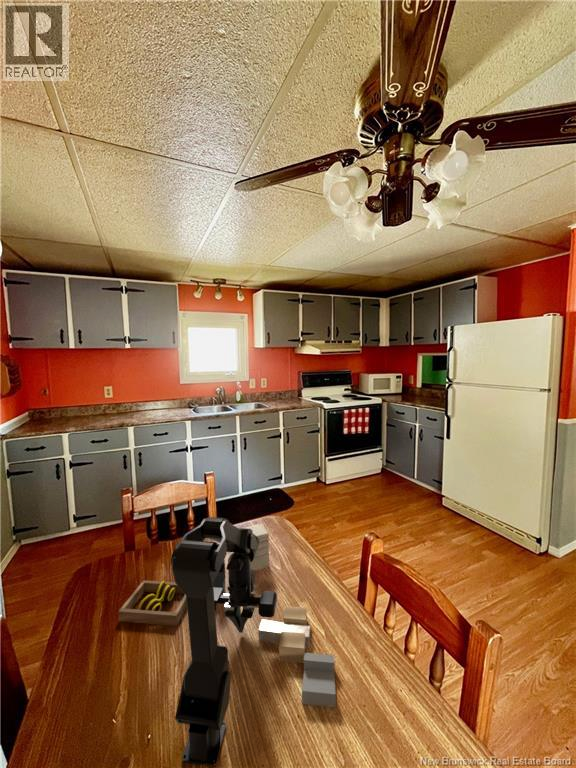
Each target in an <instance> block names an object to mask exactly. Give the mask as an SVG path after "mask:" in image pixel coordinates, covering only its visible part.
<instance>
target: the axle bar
mask: <svg viewBox="0 0 576 768" xmlns="http://www.w3.org/2000/svg"><path fill="white" fill-rule="evenodd" d="M281 631H283V632H295V633H305V649H307V648H310V640H311V626H310V625H307V626H306V625H298V624H291V623H283V621H282V622H281V621H274V620H268V619H261V621H260V624H259V627H258V641H262V642H267V643H272V644H280V638H281Z"/></svg>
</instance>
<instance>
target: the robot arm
mask: <svg viewBox="0 0 576 768" xmlns="http://www.w3.org/2000/svg"><path fill="white" fill-rule="evenodd" d="M205 539H209V540H212V541H205ZM258 547H259V540H258V538H257V536H256V535H254V534H253V530H251V529H247V528H245V527H238V526H236V525H234V524H233V523H231V522H230V521H229V519H226V518H223V517H212V516H211V517H208V516H207V518H203V519H202V521H201V523H200V524H199V525H198V526H196V527H194V528H193V529H191V530H190V531H188V532H187V533H185V534H184V535H183V536H182V538H181V540H180V541H179V542H178V544H177V545H176V547H174V549H173V551H172V555H171V559H170V565H171V570H172V574H173V578H174V582H175V583H176V584H177V585H178V586H179V588H180V589H181V590H182V591H183V592H184V593H185V594H186V602H187V608H186V611H187V623H188V633H189V643H190V656H191V660H190V661H189V665H188V667H187V669H186V671H185V673H184V675H183V676H182V677H183V678H182V683H181V689H180V694H179V695H180V696H179V699H178V703H177V708H176V711H175V716H174V720H175V722H176V724H179V725H180V724H184V725H187V727H188V739H187V741H186V744H185V747H184V750H183V753H182V755H181V760H182V763H187V764H194V765H201V764H207V765H206V766H208V765H214V764H216V765H217V763H218V760H217V759H219V755H220V751H221V747H222V743H223V740H224V736H225V731H226V728H227V722H226V721H225V718H226V713H227V710H228V706H229V704H230V694H231V693H230V691H231V690H230V689H231V676H232V675H231V671H230V667H229V665H230V661H229V650H228V647H227V646H225V645H218V633H217V620H216V619H217V618H216V612H217V611H218V604H221V605H222V604H223V605H224V609H225V611H224V617H227V618H228V619H229V621H231V622H232V624H233V625H234V627H235V628H236V629H237V631H238V633H241V634H242V633H243V632H244V628H245V626H246V625H245V624H246V623H247V621H248V619H252V618H253V616H254V611H255V609H256V608H257V609H258V615H259V616H260V617H262V618H273V617H275V615H276V614H275V613H276V609H277V602H278V595H277V594H278V593H276V591H275V590H261V595H260V597H259V596H256V593H253V592H254V589H255V585H254V584H255V583H256V571H255V570H252V569H250V562H252V561H253V559H254V557H255V554H256V552H257V549H258ZM227 553H231V554H230V555H229V557H227V558H228V559H227V564H226V567H225V570H227V571H228V572H227V574H228V578H227V579H228V585H227V591H228V593H225V594H223V593H224V588H215V587H213V583H214V581H215V579H216V576H217V574H218V572H219V570H220V568H221V565H222V563H223V561H224V560H225V559H226V556H227V555H228V554H227ZM185 594H184V595H185ZM241 607H242V610H241ZM213 760H215V761H213ZM216 762H217V763H216Z"/></svg>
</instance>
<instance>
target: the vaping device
mask: <svg viewBox="0 0 576 768" xmlns="http://www.w3.org/2000/svg"><path fill="white" fill-rule="evenodd" d="M225 563H226V560H225V559H224V561H223V563H222V565H221V568H220V570H219V572H218V574H217V576H216V579H215V581H214V583H213V587H215V588H224V593H223V594H227V593H226V564H225Z"/></svg>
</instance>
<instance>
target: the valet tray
mask: <svg viewBox="0 0 576 768" xmlns="http://www.w3.org/2000/svg"><path fill="white" fill-rule="evenodd" d="M162 581H163V580H161V581H159V580H145V579H144V580H142V581H141V583H140V584H139V585H138V586H137V588H136V589H135V590H134V591H133V592H132V594H131V595H130V597H129V598H128V599H127V600H126V601H125V603H123V605H122V606H121V608H119V610H118V621H119V622H126V623H127V622H128V623H138V624H149V625H150V624H151V625H164V626H173V627H177V626H178V624H179V623H180V621H181V620H182V617H183V615H184V614H185V612H186V611H187V602H186V594H185V593H184V592H183V591H182V590H181V589H180V588H179V586H178V585H177V584H176V583H175V581H164V582H165V584H167V585H170V586H171V587H172V588H175V593H174V595H184V596H183V597H182V599H181V600H180V602H179V604H178V606H177V607H176V610H174V611H173V612H172V611H161V610H160V611H149V610H139V609H137V608H136V609H135V608H134V607H135V605H136V604H137V603H138V602H139V600H140V599H141V598H142V596H143V595H144V594H145V592H146V593H156V594H157V590H158V588H159V586H160V584H161V582H162Z"/></svg>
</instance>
